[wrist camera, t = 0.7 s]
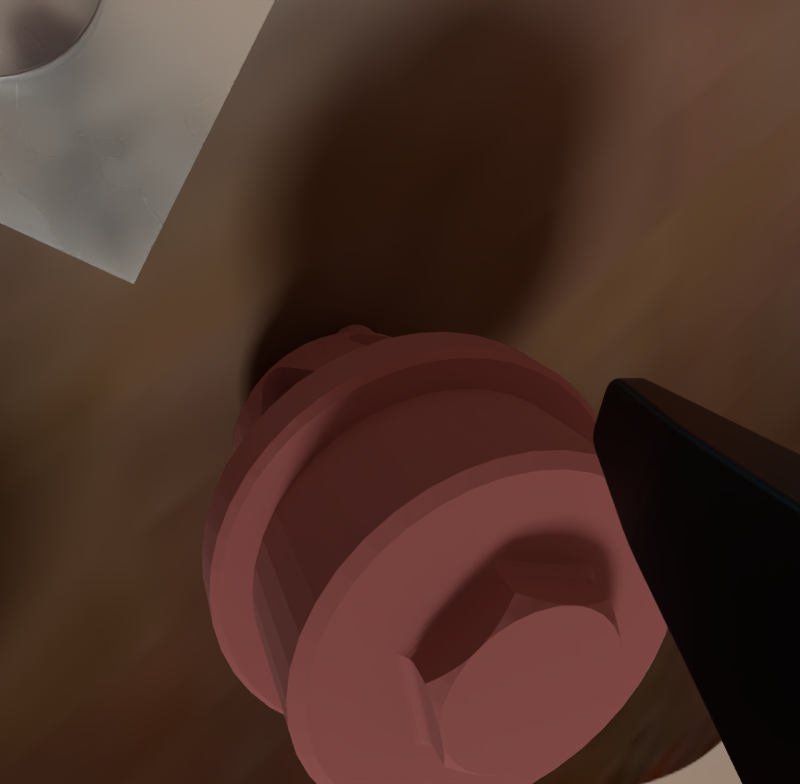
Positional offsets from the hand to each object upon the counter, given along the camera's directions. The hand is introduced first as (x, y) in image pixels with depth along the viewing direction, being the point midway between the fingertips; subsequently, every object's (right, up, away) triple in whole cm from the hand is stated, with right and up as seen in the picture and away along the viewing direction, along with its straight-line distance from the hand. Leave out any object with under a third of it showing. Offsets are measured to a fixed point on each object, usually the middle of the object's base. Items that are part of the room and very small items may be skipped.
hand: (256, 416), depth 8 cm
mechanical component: (-1, -1, +15) cm, 15 cm away
